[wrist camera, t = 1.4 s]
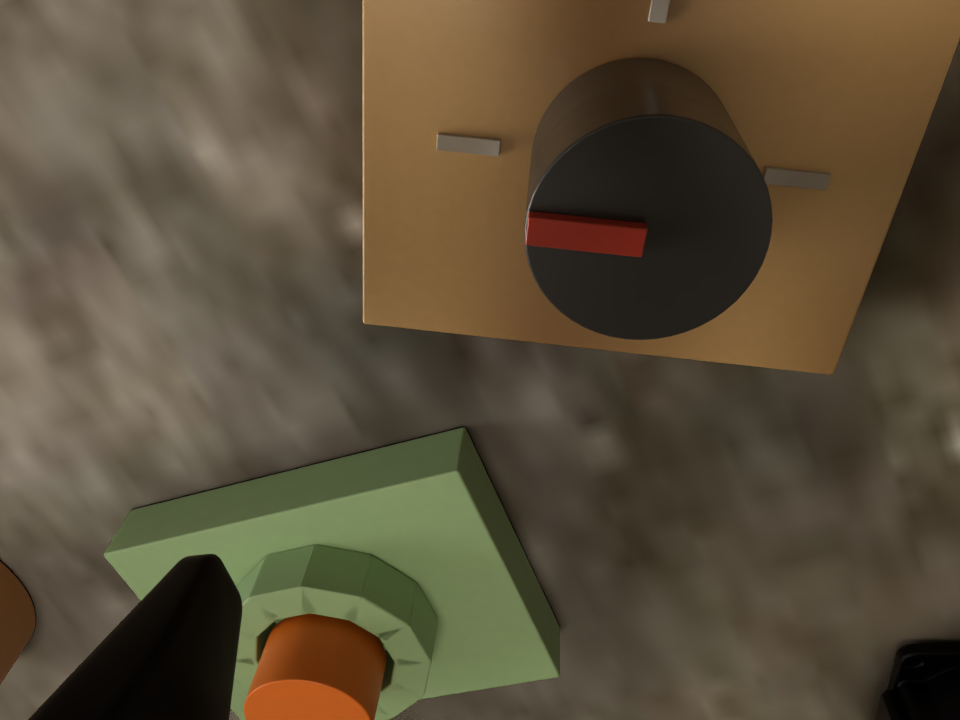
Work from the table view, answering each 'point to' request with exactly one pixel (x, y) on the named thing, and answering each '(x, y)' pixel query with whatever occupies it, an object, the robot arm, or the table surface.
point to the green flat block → (368, 565)
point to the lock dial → (643, 202)
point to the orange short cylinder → (317, 672)
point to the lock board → (742, 90)
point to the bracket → (13, 619)
